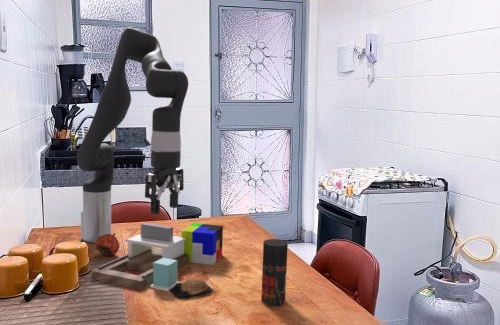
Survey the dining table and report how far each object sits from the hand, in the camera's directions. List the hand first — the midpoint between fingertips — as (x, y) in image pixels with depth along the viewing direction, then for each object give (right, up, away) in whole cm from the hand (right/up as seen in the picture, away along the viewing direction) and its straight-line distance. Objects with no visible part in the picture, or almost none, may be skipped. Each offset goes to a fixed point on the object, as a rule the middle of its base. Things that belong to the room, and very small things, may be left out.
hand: (164, 210), depth 125 cm
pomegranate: (-22, -17, +24) cm, 37 cm away
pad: (0, -20, +2) cm, 20 cm away
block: (0, -19, +2) cm, 19 cm away
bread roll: (+7, -21, -1) cm, 23 cm away
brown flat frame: (-8, -18, +13) cm, 24 cm away
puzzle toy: (+7, -18, +25) cm, 32 cm away
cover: (-6, -15, +19) cm, 25 cm away
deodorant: (+28, -22, -6) cm, 36 cm away
